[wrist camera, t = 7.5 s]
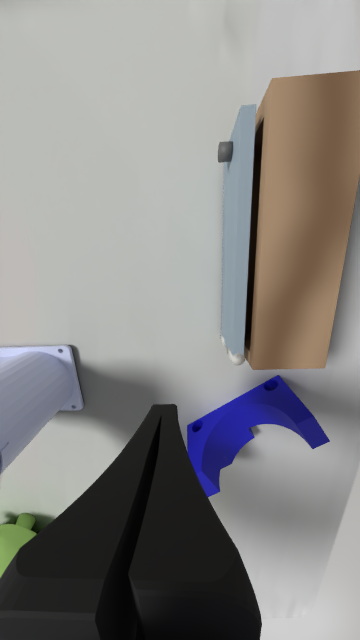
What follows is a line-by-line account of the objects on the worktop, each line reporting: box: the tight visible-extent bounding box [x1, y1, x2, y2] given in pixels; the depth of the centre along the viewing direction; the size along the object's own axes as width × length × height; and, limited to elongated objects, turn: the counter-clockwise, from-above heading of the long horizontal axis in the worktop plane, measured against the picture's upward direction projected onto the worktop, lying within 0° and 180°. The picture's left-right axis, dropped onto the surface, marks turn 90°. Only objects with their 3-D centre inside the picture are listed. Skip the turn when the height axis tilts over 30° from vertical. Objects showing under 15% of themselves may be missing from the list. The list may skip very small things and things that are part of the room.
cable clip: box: [187, 375, 330, 497], centre depth 19 cm, size 12×4×6 cm, turn 126°
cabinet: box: [244, 70, 360, 370], centre depth 14 cm, size 5×16×6 cm, turn 3°
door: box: [218, 104, 256, 365], centre depth 14 cm, size 2×16×5 cm, turn 3°
